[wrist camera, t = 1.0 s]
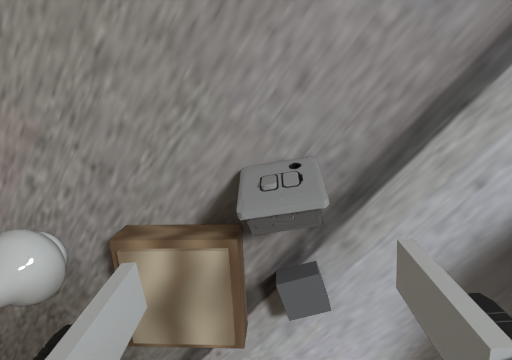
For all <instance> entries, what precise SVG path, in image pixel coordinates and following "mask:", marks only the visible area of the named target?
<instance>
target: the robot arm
mask: <svg viewBox="0 0 512 360" xmlns="http://www.w3.org/2000/svg"><path fill="white" fill-rule="evenodd" d="M396 288H397V290H398V291H399V293H400V294H401V296H402V297H403V299H404V300H405V302H406V304H407V305H408V307H409V308H410V310H411V311H412V313H413V314H414V316H415V317H416V319H417V321H418V322H419V324H420V325H421V327H422V328H423V330H424V331H425V333H426V334H427V336H428V338H429V339H430V341H431V342H432V344H433V345H434V347H435V348H436V350H437V351H438V353H439V355H440V356H441V358H442V359H443V360H512V318H511V317H510V316H509V315H508V314H507V313H505V312H504V310H502V309H501V308H500V307H499V306H498V305H497V304H496V303H495V302H494V301H493V300H491V299H489V298H487V297H485V296H484V295H482V294H480V293H470V294H467V293H466V292H465V291H464V290H463V289H462V288H461V287H460V286H459V285H458V284H457V283H456V282H455V281H454V280H453V279H452V278H451V277H450V276H449V275H448V274H447V273H446V272H445V271H444V270H443V268H442V267H441V266H440V265H439V264H438V263H437V262H436V261H435V260H434V259H433V258H432V257H431V256H430V255H429V254H428V253H427V252H426V251H425V250H424V249H423V248H422V247H421V246H420V245H419V244H418V243H417V241H416V240H415V239H414V238H410V239H399V240H397V279H396ZM146 308H147V304H146V300H145V296H144V292H143V288H142V284H141V280H140V276H139V272H138V268H137V265H136V262H131V263H121V264H120V266H119V267H118V268H117V269H116V271H115V272H114V273H113V275H112V276H111V277H110V278H109V280H108V281H107V282H106V283H105V285H104V286H103V287H102V288H101V290H100V291H99V292H98V293H97V295H96V296H95V297H94V298H93V300H92V301H91V302H90V303H89V305H88V306H87V307H86V309H85V310H84V311H83V312H82V314H81V315H80V316H79V317H78V319H77V320H76V321H75V322H74V324H72V325H66V326H64V327H63V328H62V329H61V330H59V331H58V332H57V333H55V334H54V335H53V336H52V338H51V339H50V340H49V341H48V342H47V344H46V345H45V347H43V348H42V350H41V351H40V352H39V353H38V356H36V357H35V358H34V359H33V360H120V358H121V356H122V354H123V352H124V351H125V349H126V347H127V345H128V343H129V341H130V339H131V337H132V335H133V333H134V331H135V329H136V328H137V326H138V324H139V322H140V320H141V318H142V316H143V314H144V312H145V310H146Z"/></svg>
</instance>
